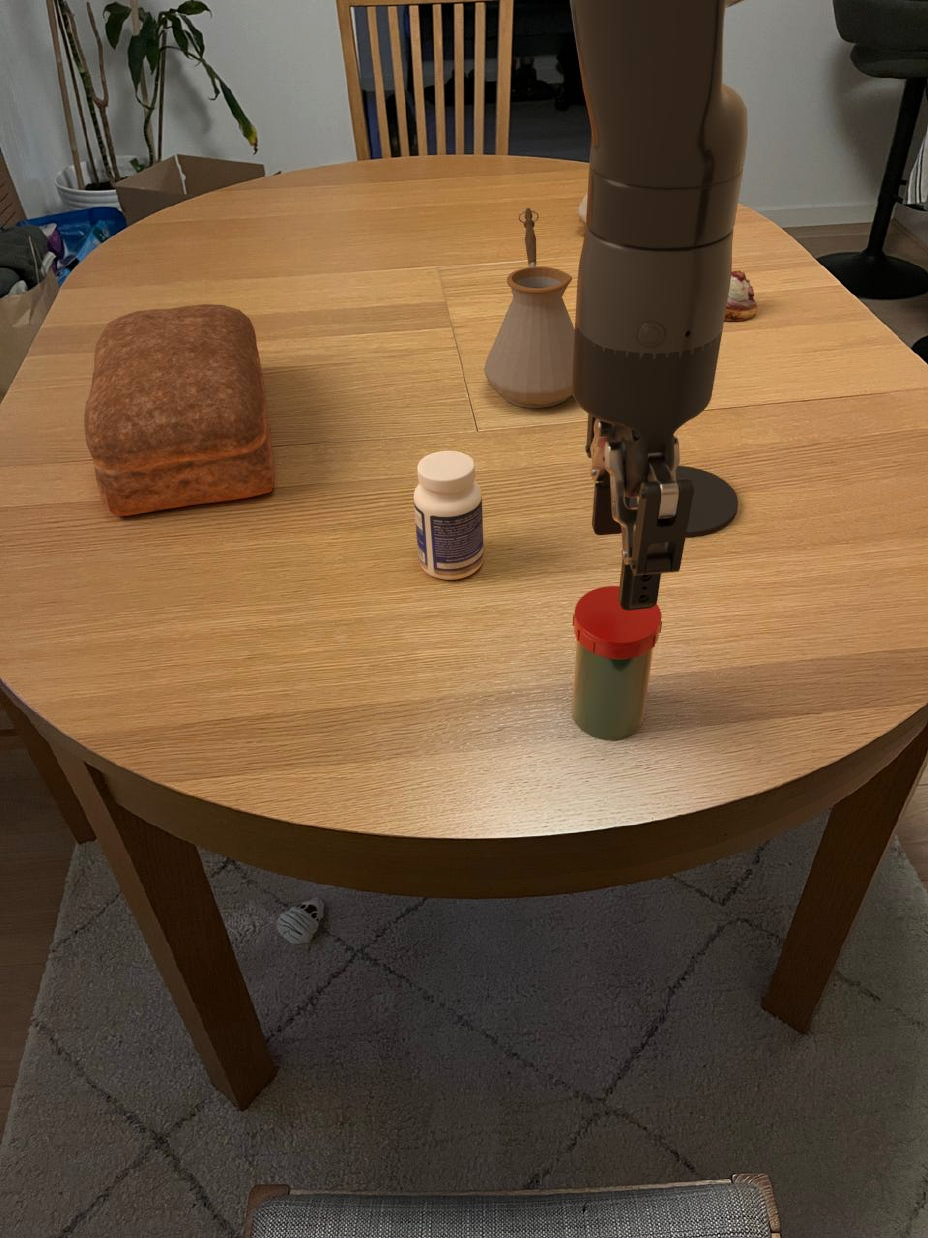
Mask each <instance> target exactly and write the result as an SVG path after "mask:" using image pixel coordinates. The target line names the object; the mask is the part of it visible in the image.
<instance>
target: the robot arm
mask: <svg viewBox="0 0 928 1238" xmlns="http://www.w3.org/2000/svg"><path fill="white" fill-rule="evenodd" d="M744 1H745V0H569V7H570V12H571V20H572V25H573V31H574V38H575V39H574V40H575V44H576V52H577V59H578V64H579V70H580V77H581V85H582V90H583V95H584V99H585V104H586V108H587V113H588V117H589V123H590V130H591V141H590V149H589V161H588V164H589V165H588V181H587V191H588V196H587V214H586V223H585V226H584V236H583V240H582V241H583V242H582V246H581V250H580V251H581V252H580V257H579V262H578V270H577V279H576V281H577V282H576V297H575V298H576V301H575V320H574V329H575V336H574V355H573V374H572V393H573V394H572V395H573V398H574V400H575V402H576V403H577V405H578V406H579V407H580V408H581V409H582V410H583V411H584V412H585V413H587V427H586V429H587V430H586V444H585V447H584V449H585V454H586V455H587V458H588V459H591V462H592V463H591V468H590V476H591V478H592V481H593V482H594V491H593V502H592V503H593V504H592V516H591V527H592V530H593V533H594V534H595V535H597V536H610V535H620V534H621V542H622V543H621V547H622V550H621V559H622V560H621V567H620V568H621V570H620V577H619V585H618V586H619V595H618V600H619V602H620V605H621V608H622V609H623V610H639V609H649V608H652V607H654V606H655V605H656V604H657V603H658V599H659V593H660V585H661V577H662V574H668V573H679V572H680V570H681V565H682V560H683V554H684V548H685V544H686V543H685V542H686V538H687V537H686V533H687V527H688V522H689V516H690V511H691V505H692V499H693V494H694V487H693V484H692V481H691V479H690V478H687V479H676V468H677V467H678V466H680V462H681V460H680V459H681V458H680V454H681V453H680V441H679V438H678V436H677V435H675V434H676V432H677V431H678V430H679V428H681V427H682V426H684V425H685V424H686V423H688V422H689V421H691V420H693V419H695V418H697V417H698V416H699V415H701V414H702V413H703V412H704V411H705V410H706V408H707V407H708V406H709V405H710V402H711V400H712V396H713V390H714V385H715V384H714V383H715V379H716V373H717V368H718V367H717V366H718V361H719V355H720V348H721V342H722V336H723V330H724V326H725V325H724V323H725V321H724V319H725V313H726V307H727V301H728V294H729V288H730V281H731V272H732V271H733V269H732V268H733V267H732V266H733V238H734V227H735V225H736V224H735V223H736V217H737V210H738V205H739V199H740V192H741V186H742V179H743V173H744V167H745V161H746V160H745V159H746V154H747V147H748V145H747V144H748V133H749V131H748V127H749V125H748V123H749V122H748V110H747V107H746V104H745V101H744V100H743V98H742V96H741V95H740V94H739V93H738V92H737V91H736V90H735V89H733V88H732V87H731V86H729V85H727V84H726V83H723V75H724V74H723V69H724V68H723V67H724V66H723V65H724V56H723V55H724V25H725V15H726V9H727V8H730V7H733V6H736V5H738V4H740V3H743V2H744ZM636 497H637V504H638V507H637V508H629V504H630V498H636ZM657 605H658V604H657Z"/></svg>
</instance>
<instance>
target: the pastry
mask: <svg viewBox="0 0 928 1238" xmlns="http://www.w3.org/2000/svg"><path fill="white" fill-rule="evenodd" d="M754 297H755V292H754V288H753V286H752V285H751V280H749V279H747V276H746V273H745V272H744V271H741V270H739V269H738V270H732V271H731V281H730V288H729V294H728V301H727V307H726V313H725V319H724V322H730V321H731V322H740V321H745V320H749V319H752V318H753V317H754V316H755V315H756V314H757V311H758V304H757V302H756V300H755V298H754Z"/></svg>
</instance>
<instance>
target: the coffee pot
mask: <svg viewBox="0 0 928 1238" xmlns="http://www.w3.org/2000/svg"><path fill="white" fill-rule="evenodd" d="M533 213H534V214H536V219H534V220H533ZM523 214H524V220H525V221H523V220H522V219H521V215H523ZM539 217H540V216H539V213H538V212H537V211H535V210H532V209H531V208H530V207H527V208H525V210H523V211H522V212H520V213H519V215H518V220H519V222H521V224H523V227H524V228H525V235H524V244H525V250H526V257H527V264H528V265H527V267H523V268H522V267H521V268H518V269H516V270H514V271H512V272H510V273H509V275H507V278H506V283H507V285H508V288H510V289H511V293H512V299H511V301H510V303H509V306H508V309H507V311H506V313H505V316H504V318H503V320H502V322H501V325H500V327H499V329H498V332H497V334H496V336H495V339H494V341H493V344H492V346H491V348H490V351H489V353H488V355H487V358H486V360H485V363H484V367H483V371H484V375H485V378H486V380H487V382H488V384H489V386H490V387H491V388H492V389H493V390H494V391H495V392H496V393H498V394H499V395H500V396H502V397H503V399H505V400H506V401H507V402H508V403H511V404H512V405H515V406H518V407H522V408H527V409H529V408H530V409H542V408H549V407H550V408H551V407H553V406H557V405H559V404H562V403H563V402H565V401H566V400H567V399H568V398H569V397H570V396H572V395H573V393H572V374H573V355H574V336H575V325H574V324H573V321H572V318H571V316H570V314H569V311H568V309H567V306H566V304H565V301H564V299H563V297H564V294H565V293H566V290H567V288H568V286H569V285H570V284H571V282H572V280H573V276H572V275H570V274H569V273H567V272H565V271H564V270H561V269H559V268H555V267H551V266H537V237H536V234H535V229H534V228H535V225H536V222H537V221H538V220H539Z"/></svg>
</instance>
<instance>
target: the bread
mask: <svg viewBox="0 0 928 1238" xmlns="http://www.w3.org/2000/svg"><path fill="white" fill-rule="evenodd" d="M257 343H258V342H257V334H256V331H255V326H254V325H253V322H252V321H251V319H250V318H249V317H248V316H247V315H246V314H245V313H244V312H243V311H242V310H240V309H239V308H235V307H231V306H228V305H225V304H212V303H203V304H202V303H201V304H190V305H183V306H178V307H173V308H155V309H154V308H153V309H144V310H136V311H133V312H130V313H127V314H124V315H121V316H119V317H118V318H115V319H113V320H111V321H109V322H108V323H107V324H106V325H105V327H104V328H103V331H102V333H101V334H100V337H99V338H98V341H97V342H96V345H95V349H94V354H93V355H94V356H93V372H92V377H91V379H92V380H91V385H90V389H89V390H90V391H89V395H88V397H87V399H86V402H85V408H84V409H85V410H84V416H83V417H84V419H83V420H84V424H83V427H84V436H85V442H86V446H87V448H88V451H89V453H90V455H91V458H92V459H93V464H94V472H95V480H96V484H97V489H98V492H99V495H100V498H101V501H102V505H103V506H104V507H105V508H106V509H108V510H109V512H111V513H112V514H113V516H115V518H119V517H126V516H133V515H139V514H146V513H151V512H157V511H163V510H169V509H174V508H182V507H189V506H195V505H204V504H211V503H212V504H214V503H221V502H227V501H236V500H242V499H249V498H252V497H257V496H261V495H264V494H268V493H271V492H272V491H273V488H274V481H275V469H274V449H273V443H272V431H271V427H270V424H269V420H268V414H267V407H266V404H267V402H266V395H265V385H264V378H263V377H264V376H263V369H262V364H261V358H260V354H259V353H260V352H259V349H258V344H257Z"/></svg>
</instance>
